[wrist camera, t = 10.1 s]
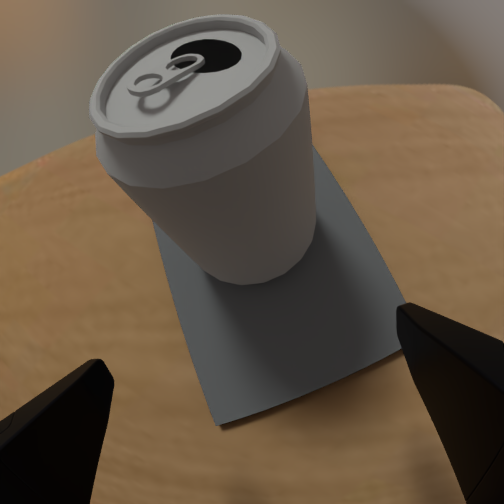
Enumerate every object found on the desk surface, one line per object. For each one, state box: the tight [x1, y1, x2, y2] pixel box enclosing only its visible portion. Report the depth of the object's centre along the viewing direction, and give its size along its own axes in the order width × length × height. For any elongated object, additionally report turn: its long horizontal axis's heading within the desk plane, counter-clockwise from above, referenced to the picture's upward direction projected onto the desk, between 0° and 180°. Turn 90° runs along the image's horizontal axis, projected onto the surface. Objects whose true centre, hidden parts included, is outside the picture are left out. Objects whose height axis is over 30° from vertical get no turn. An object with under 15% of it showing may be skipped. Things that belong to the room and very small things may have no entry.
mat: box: [152, 145, 406, 426], centre depth 19 cm, size 16×12×1 cm
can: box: [89, 14, 316, 285], centre depth 14 cm, size 8×8×12 cm
